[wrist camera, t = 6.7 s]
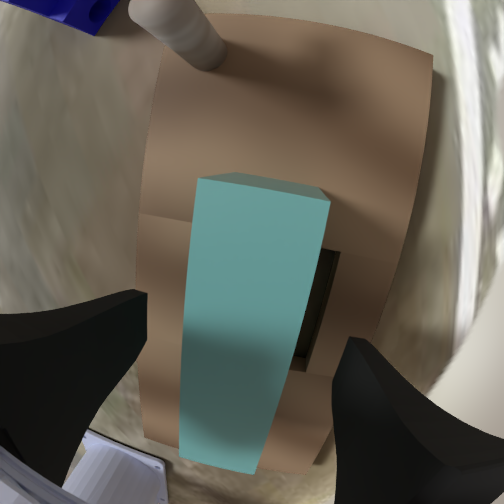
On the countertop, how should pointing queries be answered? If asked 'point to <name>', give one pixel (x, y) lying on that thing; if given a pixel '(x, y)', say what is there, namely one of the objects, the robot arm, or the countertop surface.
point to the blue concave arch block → (71, 11)
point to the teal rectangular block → (243, 310)
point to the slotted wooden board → (283, 168)
